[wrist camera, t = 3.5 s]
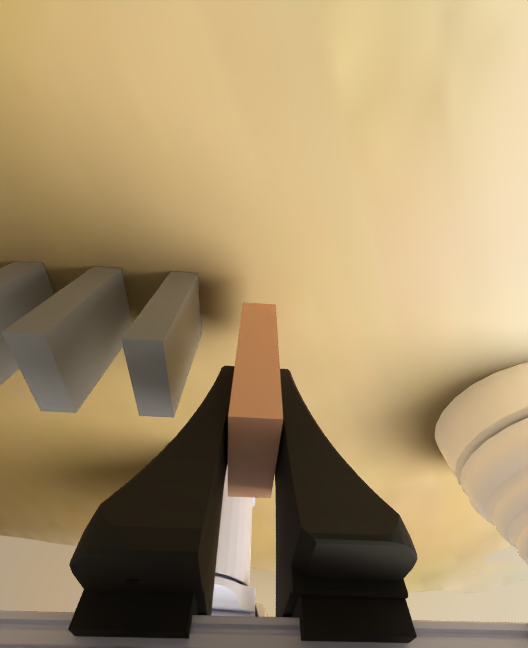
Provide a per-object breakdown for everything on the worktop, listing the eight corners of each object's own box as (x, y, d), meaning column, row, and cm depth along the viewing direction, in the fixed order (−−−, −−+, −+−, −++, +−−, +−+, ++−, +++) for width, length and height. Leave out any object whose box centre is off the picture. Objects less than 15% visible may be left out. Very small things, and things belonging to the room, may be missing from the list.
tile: (268, 371, 17) (270, 498, 11) (240, 370, 17) (227, 496, 11) (275, 304, 14) (283, 419, 8) (243, 302, 14) (227, 416, 8)
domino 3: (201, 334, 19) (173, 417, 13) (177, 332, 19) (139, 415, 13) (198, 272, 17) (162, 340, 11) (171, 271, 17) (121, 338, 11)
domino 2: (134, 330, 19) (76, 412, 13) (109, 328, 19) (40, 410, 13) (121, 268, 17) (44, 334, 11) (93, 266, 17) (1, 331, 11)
